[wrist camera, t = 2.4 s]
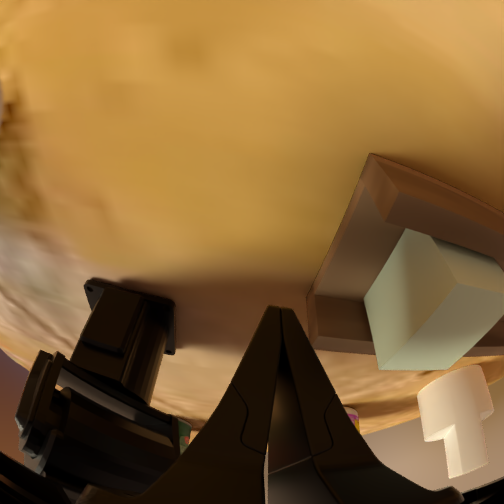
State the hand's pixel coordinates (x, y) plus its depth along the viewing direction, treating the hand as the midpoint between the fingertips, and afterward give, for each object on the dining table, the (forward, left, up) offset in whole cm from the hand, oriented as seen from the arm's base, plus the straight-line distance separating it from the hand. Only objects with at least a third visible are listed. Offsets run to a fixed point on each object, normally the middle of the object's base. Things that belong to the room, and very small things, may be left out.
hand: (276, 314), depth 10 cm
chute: (0, -14, -5) cm, 15 cm away
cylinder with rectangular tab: (-16, -26, -6) cm, 31 cm away
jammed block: (0, -8, -4) cm, 9 cm away
